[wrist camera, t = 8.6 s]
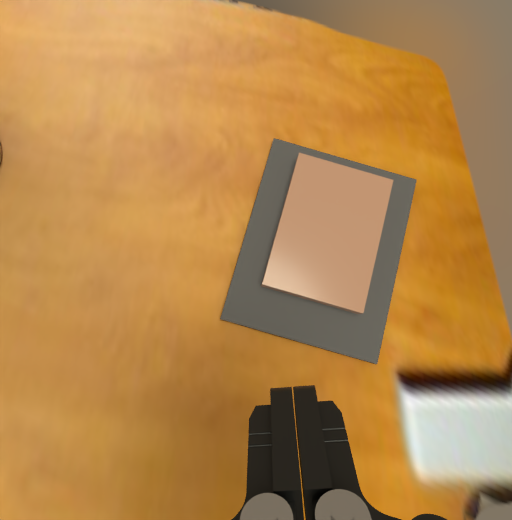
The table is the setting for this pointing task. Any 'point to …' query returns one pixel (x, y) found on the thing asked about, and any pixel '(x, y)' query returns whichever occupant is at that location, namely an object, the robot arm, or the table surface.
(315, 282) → the terracotta tile
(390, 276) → the charcoal mat
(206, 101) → the table surface
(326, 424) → the robot arm
